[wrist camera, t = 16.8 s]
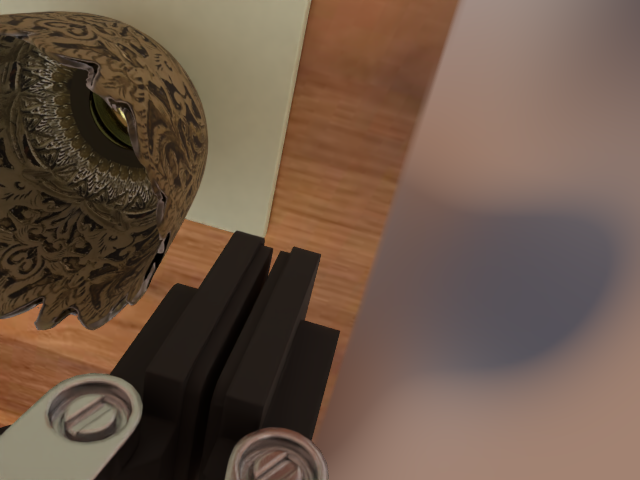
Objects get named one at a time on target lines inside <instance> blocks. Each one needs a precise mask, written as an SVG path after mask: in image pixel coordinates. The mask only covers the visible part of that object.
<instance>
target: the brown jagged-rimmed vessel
mask: <svg viewBox="0 0 640 480" xmlns="http://www.w3.org/2000/svg"><path fill="white" fill-rule="evenodd" d="M207 155H208V129H207V123H206V117H205V112H204V109H203V105H202V102H201V100H200V97H199V95H198V92H197V90H196V88H195V86H194V84H193V82H192V81H191V79H190V77H189V76H188V74H187V73H186V71H185V70H184V69H183V67H182V66H181V65H180V63H179V62H178V61H177V60H176V59H175V58H174V57H173V56H172V54H171V53H170V52H169V51H168V50H166V49H165V48H164V47H163V46H162V45H161V44H159V43H158V42H157V41H155V40H154V39H153V38H151V37H150V36H148V35H147V34H145V33H143V32H141V31H140V30H138V29H136V28H135V27H133V26H131V25H128V24H126V23H124V22H121V21H119V20H115V19H112V18H109V17H105V16H100V15H95V14H90V13H82V12H67V11H47V12H31V13H17V14H4V15H0V319H6V318H10V317H14V316H16V315H19V314H21V313H24V312H26V311H28V310H30V309H32V308H34V307H35V306H37V305H39V304H41V303H43V305H42V308H41V310H40V313H39V315H38V318H37V320H36V321H35V322H34V324H35V326H36V328H37V330H47V329H51V328H53V327H55V326H56V325H57V324H58V323H60V322H61V321H62V320H63V319H65V318H66V317H67V316H68V315H70V314H72V315H76V314H78V317H77V318H78V320H80V322H81V324H82V325H83V326H84V327H85V328H87V329H89V330H95V329H97V328H99V327H101V326H103V325H104V324H105V323H107V322H108V321H110V320H111V319H112V318H113V317H115V316H116V315H117V314H118V313H119V312H120V311H121V310H122V309H123V308H124V307H125V306H126V305H127V304H130V305H134V304H136V303H137V302H138V301H139V300H140V299H141V297H142V296H143V295H144V293H145V292H146V290H147V289H148V287H149V284H150V282H151V279H152V277H153V275H154V273H155V272H156V270H157V268H158V266H159V264H160V263H161V261H162V259H163V257H164V256H165V254H166V252H167V250H168V249H169V247H170V245H171V243H172V241H173V239H174V238H175V236H176V234H177V232H178V230H179V228H180V227H181V225H182V223H183V221H184V219H185V217H186V215H187V213H188V211H189V209H190V207H191V205H192V203H193V201H194V199H195V196H196V194H197V192H198V189H199V187H200V184H201V181H202V178H203V175H204V171H205V166H206V161H207ZM76 316H77V315H76Z"/></svg>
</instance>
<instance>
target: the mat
mask: <svg viewBox="0 0 640 480" xmlns="http://www.w3.org/2000/svg"><path fill="white" fill-rule="evenodd" d="M310 4H311V0H0V15H4V14H17V13H31V12H47V11H67V12H82V13H90V14H95V15H100V16H105V17H109V18H112V19H115V20H119V21H121V22H124V23H126V24H128V25H131V26H133V27H135V28H136V29H138V30H140V31H141V32H143V33H145V34H147V35H148V36H150V37H151V38H153V39H154V40H155V41H157V42H158V43H159V44H161V45H162V46H163V47H164V48H165V49H166V50H168V51H169V52H170V53H171V54H172V56H173V57H174V58H175V59H176V60H177V61H178V62H179V63H180V65H181V66H182V67H183V69H184V70H185V71H186V73H187V74H188V76H189V77H190V79H191V81H192V82H193V84H194V86H195V88H196V90H197V92H198V95H199V97H200V100H201V102H202V105H203V109H204V112H205V117H206V123H207V129H208V155H207V161H206V166H205V171H204V175H203V178H202V181H201V184H200V187H199V189H198V192H197V194H196V196H195V199H194V201H193V203H192V205H191V207H190V209H189V211H188V213H187V215H186V217H185V219H187V220H191V221H194V222H198V223H201V224H205V225H208V226H212V227H215V228H219V229H222V230H225V231H229V232H232V233H235V231H237V230H238V231H242V232H245V233H249V234H252V235H256V236H259V237H263V238H264V237H265V235H266V233H267V228H268V223H269V218H270V212H271V207H272V202H273V197H274V192H275V186H276V181H277V176H278V171H279V166H280V160H281V155H282V150H283V145H284V140H285V134H286V129H287V124H288V119H289V114H290V108H291V103H292V98H293V93H294V88H295V82H296V77H297V72H298V67H299V62H300V56H301V51H302V46H303V41H304V36H305V30H306V25H307V20H308V15H309V10H310Z"/></svg>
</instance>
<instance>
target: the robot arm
mask: <svg viewBox="0 0 640 480" xmlns="http://www.w3.org/2000/svg"><path fill="white" fill-rule="evenodd" d="M264 243H265V239H264V238H263V237H259V236H256V235H252V234H249V233H245V232H242V231H238V230H237V231H235V233H234V234H233V236H232V237H231V239H230V240H229V242H228V243H227V245H226V246H225V248H224V250H223V251H222V253H221V254H220V256H219V257H218V259H217V260H216V262H215V264H214V265H213V267H212V268H211V270H210V271H209V273H208V274H207V276H206V278H205V279H204V281H203V282H202V284H201V285H200V287H199V288H198V289H196V288H193V287H189V286H186V285H182V284H179V283H177V284H175V285H174V286H173V287H172V288H171V289H170V291H169V292H168V293H167V295H166V296H165V298H164V299H163V300H162V302H161V303H160V305H159V306H158V307H157V309H156V310H155V312H154V313H153V315H152V316H151V317H150V319H149V320H148V322H147V323H146V324H145V326H144V327H143V329H142V330H141V331H140V333H139V334H138V336H137V337H136V338H135V340H134V341H133V343H132V344H131V345H130V347H129V348H128V350H127V351H126V352H125V354H124V355H123V357H122V358H121V359H120V361H119V362H118V364H117V365H116V366H115V368H114V369H113V371H112V372H111V373H110V375H109V374H97V373H90V374H84V375H78V376H74V377H72V378H69V379H67V380H64V381H62V382H60V383H59V384H57V385H56V386H55V387H53V388H52V389H50V390H49V391H48V392H47V393H46V394H45V395H44V396H42V397H41V398H40V399H39V400H38V401H37V402H36V403H35V404H34V405H33V406H32V407H31V408H30V409H28V410H27V411H26V412H25V413H24V414H23V415H22V416H21V417H20V418H19V419H18V420H17V421H16V422H14V423H13V424H12V425H9V426H5V427H2V428H0V480H329V475H328V468H327V462H326V460H325V458H324V456H323V454H322V452H321V451H320V450H319V448H318V447H317V446H316V445H315V444H314V443H313V442H312V441H311V440H312V437H313V433H314V429H315V425H316V421H317V418H318V414H319V410H320V406H321V402H322V398H323V395H324V391H325V387H326V383H327V379H328V376H329V372H330V368H331V364H332V360H333V357H334V353H335V349H336V345H337V341H338V338H339V334H340V331H339V330H335V329H332V328H328V327H325V326H322V325H318V324H315V323H311V322H308V321H305V317H306V313H307V309H308V305H309V301H310V297H311V293H312V289H313V286H314V282H315V278H316V274H317V270H318V266H319V262H320V257H321V254H318V253H315V252H311V251H308V250H304V249H301V248H297V247H293V249H292V251H291V253H288V252H284V251H280V253H279V255H278V257H277V259H276V261H275V263H274V265H273V267H272V269H271V271H270V274H269V269H270V264H271V259H272V253H273V248H270V247H267V246H264ZM268 274H269V276H268Z"/></svg>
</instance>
